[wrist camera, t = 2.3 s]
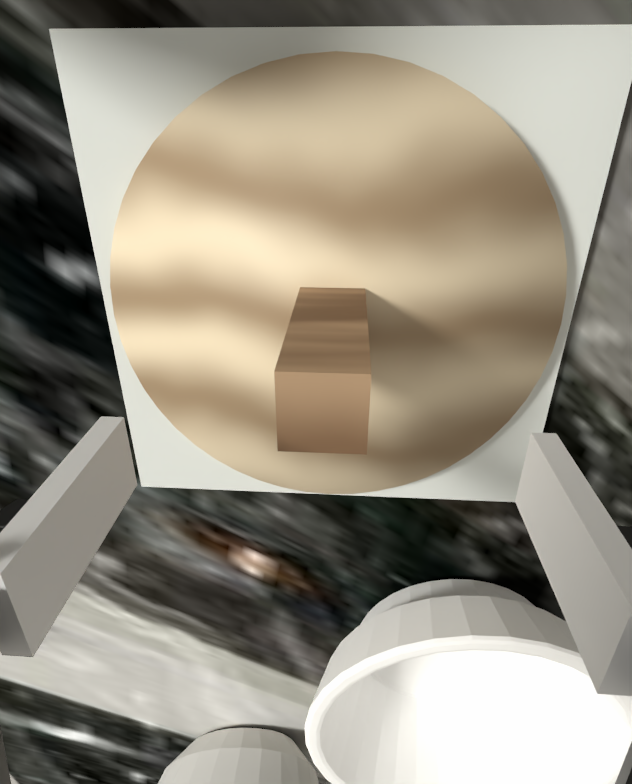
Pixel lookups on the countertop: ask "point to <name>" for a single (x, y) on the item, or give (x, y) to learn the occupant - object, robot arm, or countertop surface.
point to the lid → (338, 272)
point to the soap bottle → (241, 760)
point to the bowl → (464, 696)
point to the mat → (407, 43)
